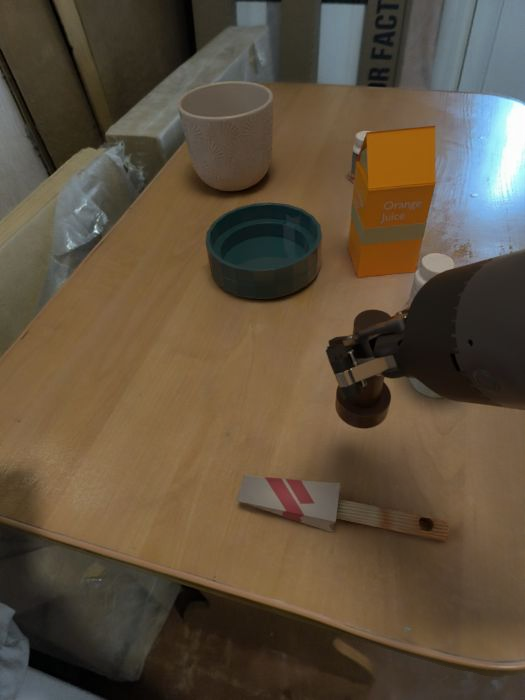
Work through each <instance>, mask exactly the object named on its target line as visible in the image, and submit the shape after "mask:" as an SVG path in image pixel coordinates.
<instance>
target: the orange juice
mask: <svg viewBox="0 0 525 700" xmlns="http://www.w3.org/2000/svg"><path fill="white" fill-rule="evenodd" d="M436 184H437V183H436V125H427V126H417V127H407V128H397V129H386V130H377V131H375V130H374V131H372V132H367V133H366V136H365V139H364V141H363V144H362V147H361V150H360V153H359V155H358V158H357V161H356V167H355V178H354V183H353V191H352V199H351V207H350V208H351V209H350V224H349V234H348V235H349V236H348V237H349V238H348V247H347V249H348V253H349V256H350V258H351V261H352V264H353V268H354V270H355V274H356V277H357V278H367V277H377V276H384V275H385V276H388V275H397V274H407V273H416V268H417V264H418V260H419V255H420V251H421V247H422V243H423V239H424V235H425V233H426V227H427V221H428V218H429V214H430V208H431V205H432V201H433V196H434V191H435V188H436Z"/></svg>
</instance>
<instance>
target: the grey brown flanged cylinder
mask: <svg viewBox="0 0 525 700" xmlns="http://www.w3.org/2000/svg"><path fill="white" fill-rule="evenodd" d="M391 319H393V318H392V316H391V315H390V314H389V313H387V312H385V311H384V310H380V309H365V310H363V311H361V312H359V313H358V314H357V315H356V316H355V317H354V320H353V328H352V335H357V334H359V332H360V331H361V330H363V329H365V328H367V327H369V326H371V325H373V324H377V323H382V322H386V321H389V320H391ZM385 378H386V377H384V376H376V375H374V376H371V377H369V378H366V379H365V380H366V382H367V385H366V386H365V387H361V388H362V390H363V392H362V393H361V394H359V395H358V396H357V397H355V398H348V399H345V398H344V397H343V394H342V392H341V389H340V387H339V384H337V387H336V392H335V401H334V403H335V404H334V405H335V406H334V407H335V411H336V414H337V415H338V417H339V418H340V419H341V421H343V422H344V423H345V424H346V425H348V426H350V427H352V428H355V429H372V428H375V427H378V426H379V425H381V424H382V423H383V422H384V421H385V420H386V418H387V416H388V413H389V411H390V410H389V409H390V405H391V401H392V393H391V390H390V388H389V386H388V384H387V383H386V382H385Z"/></svg>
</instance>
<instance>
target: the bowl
mask: <svg viewBox="0 0 525 700" xmlns="http://www.w3.org/2000/svg"><path fill="white" fill-rule="evenodd" d="M205 235H206V236H205V241H204V243H205V247H206V254H207V259H208V264H209V269H210V272H211V275H212V276H213V280H214V281H215V282H216V283H217V284H218V285H219V286H220V287H221V288H222V289H223V290H225V291H227V292H228V293H231V294H233V295H236V296H238V297H241V298H242V297H243V298H248V299H255V300H261V299H277V298H280V297H284V296H288V295H292V294H293V293H296V292H298V291H299V290H301V289H303V288H305V287H306V286H308V285H309V284H310V283H311V282H312V281H313V280H314V279H315V278H316V276H317V275H318V274H319V271H320V268H321V266H322V248H323V246H322V245H323V232H322V226H321V224H320V223H319V221H318V219H316V218H315V216H314V215H312V214H311V213H309V212H308V211H306V210H304V209H303V208H301V207H297V206H294V205H292V204H288V203H279V202H258V203H251V204H246V205H243V206H239V207H236V208H234V209H232V210H229V211H227V212H225V213H223V214H222V215H221V216H219V217H218V218H216V219H215V220H214V221H213V222H212V224H211V225H210V226H209V228H208V230H206V234H205Z"/></svg>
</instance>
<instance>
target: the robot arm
mask: <svg viewBox="0 0 525 700" xmlns="http://www.w3.org/2000/svg"><path fill="white" fill-rule="evenodd" d="M391 317H392V318H393V319H391V320H389V321H386V322H382V323H377V324H373V325H371V326H369V327H367V328H365V329H363V330H361V331H360V332H359V334H357V335H353V334H350V335H343V336H342V335H341V336H334V337H333V338H331V339H329V340H328V346H326V349H325V353H326V356H327V360H328V362H329V365H330V367H331V369H332V372H333V374H334V377H335V380H336V382H337V385H339V387H340V389H341V392H342V394H343V397H344V398H345V399H348V398H355V397H357V396H358V395H359V394H361V393H362V392H363V390H362V388H361V387H365V386H366V385H367V382H366V380H365V379H366V378H369V377H371V376H374V375H376V376H384V377H385V378H387V379H391V380H392V379H400V378H407V379H410V378H416V379H417V380H419V381H420V382H421V383H423V384H424V385H425V386H426V387H428V388H429V389H430V390H432V391H433V392H435V393H436V394H438V395H440V396H442V398H444V399H447V400H450V401H454V402H460V403H468V404H475V405H483V406H491V407H497V408H506V409H513V410H521V411H525V248H523V249H519V250H515V251H512V252H508V253H505V254H501V255H498V256H494V257H490V258H487V259H483V260H479V261H476V262H472V263H467V264H465V265H460V266H457V267H454V269H450V270H447V271H444V272H441V273H439V274H437V275H436V276H434V277H433V278H431V279H430V280H429V281H427V282H426V283H425V284H424V285H423V286H422V287H421V289H420V290H419V291H418V292H417V294H416V295H415V297H414V299H413V301H412V303H411V305H410V307H409V308H407V307H406V308H404V309H402V310H400V311H397V312H395V314H394V315H392V316H391Z"/></svg>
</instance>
